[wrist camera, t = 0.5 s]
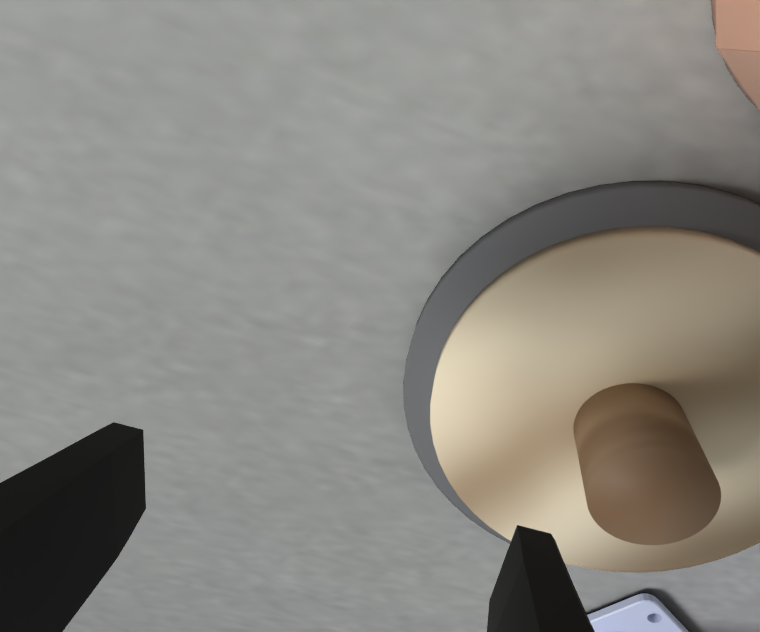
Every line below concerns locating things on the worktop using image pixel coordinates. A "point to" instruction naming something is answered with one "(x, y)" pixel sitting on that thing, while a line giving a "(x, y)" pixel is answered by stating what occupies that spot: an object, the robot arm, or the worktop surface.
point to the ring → (740, 42)
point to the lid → (611, 399)
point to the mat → (533, 234)
